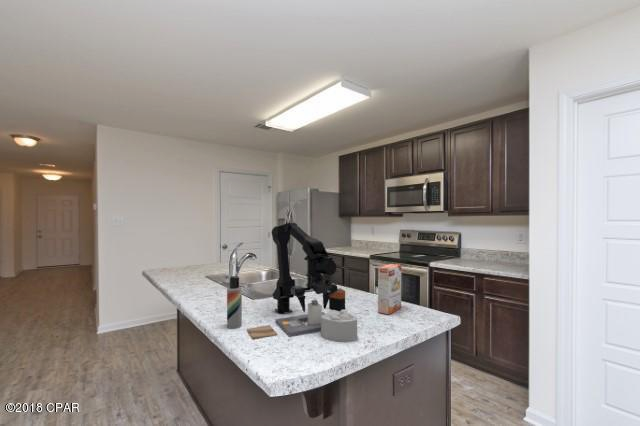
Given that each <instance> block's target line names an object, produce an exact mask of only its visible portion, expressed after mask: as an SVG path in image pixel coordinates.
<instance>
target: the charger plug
mask: <svg viewBox="0 0 640 426" xmlns="http://www.w3.org/2000/svg"><path fill="white" fill-rule="evenodd" d="M322 306H323V304H320V303H319V301H318V300H317V299H311V302H309V303H308V302H307V314H308V321H307V324H309V325H314V324H320V323H321V316H322V312H323V311H322V310H323V307H322Z"/></svg>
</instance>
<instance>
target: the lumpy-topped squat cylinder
mask: <svg viewBox="0 0 640 426" xmlns="http://www.w3.org/2000/svg"><path fill="white" fill-rule="evenodd" d="M325 313H326V314H324V315H322V316H321V331H320V337H321V338H322V339H325V340H329V341H333V342H339V343H342V342H343V343H347V342H348V343H349V342H354V341H357V340H358V318H357V317H358V316H356V315H354V314H352V313H351V312H349V311H348V310H346V309H344V310H341V311H337V310H332V309H330V310H329V311H327V312H325Z"/></svg>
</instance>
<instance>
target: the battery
mask: <svg viewBox="0 0 640 426" xmlns="http://www.w3.org/2000/svg"><path fill="white" fill-rule="evenodd" d="M328 309H329V310H336V311H338V312H340V311H341V310H346V290H345V289H343V288H341V287H337V292H335V293H334V294H332V295H331V296H330V298H329V300H328Z"/></svg>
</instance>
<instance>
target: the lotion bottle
mask: <svg viewBox="0 0 640 426" xmlns="http://www.w3.org/2000/svg"><path fill="white" fill-rule="evenodd" d="M226 289H227V290H226V325H227V328H229V329H238V328H240V327H241V326H242V324H243V321H242V320H243V318H242V317H243V311H242V310H243V309H242V308H243V301H242V300H243V295H242V294H243V290H242V289H243V288H242V287H240V277H239V276H237V275H231V276H230V277H229V287H228V288H226Z"/></svg>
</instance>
